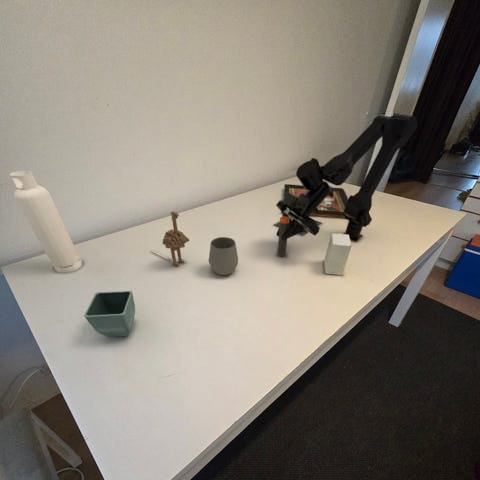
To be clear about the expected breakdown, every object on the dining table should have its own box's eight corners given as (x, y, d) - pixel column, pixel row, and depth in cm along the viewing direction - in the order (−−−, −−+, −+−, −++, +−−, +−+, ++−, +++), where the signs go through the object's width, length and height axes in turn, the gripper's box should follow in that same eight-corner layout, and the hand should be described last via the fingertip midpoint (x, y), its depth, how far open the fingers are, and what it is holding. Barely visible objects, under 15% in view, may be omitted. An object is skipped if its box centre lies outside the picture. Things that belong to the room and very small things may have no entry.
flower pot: (107, 318, 70) (95, 291, 63) (141, 316, 70) (132, 290, 64) (98, 343, 63) (82, 316, 57) (135, 341, 64) (124, 314, 58)
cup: (216, 281, 82) (214, 253, 75) (205, 267, 88) (202, 239, 81) (243, 274, 85) (243, 246, 78) (230, 260, 91) (230, 233, 84)
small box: (341, 275, 85) (352, 246, 78) (324, 273, 86) (332, 244, 79) (340, 262, 91) (349, 234, 84) (323, 260, 92) (331, 232, 84)
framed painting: (362, 219, 117) (365, 212, 115) (284, 217, 116) (285, 210, 114) (340, 190, 144) (341, 184, 142) (276, 189, 144) (277, 183, 142)
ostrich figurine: (193, 263, 89) (186, 210, 77) (178, 272, 85) (169, 217, 73) (159, 248, 96) (148, 197, 84) (145, 255, 92) (130, 203, 80)
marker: (280, 250, 95) (283, 215, 86) (287, 253, 94) (291, 218, 85) (275, 254, 94) (278, 218, 85) (282, 257, 92) (286, 221, 83)
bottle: (87, 262, 89) (45, 170, 69) (69, 274, 83) (18, 179, 64) (68, 257, 91) (22, 167, 71) (49, 270, 85) (-6, 175, 66)
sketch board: (294, 214, 120) (294, 213, 120) (321, 223, 113) (321, 222, 113) (273, 225, 111) (273, 224, 111) (302, 235, 105) (302, 234, 104)
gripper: (284, 173, 85) (252, 213, 89) (320, 192, 73) (282, 237, 77) (300, 195, 93) (270, 231, 97) (335, 215, 81) (299, 255, 85)
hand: (279, 237), depth 89 cm, fingers closed on marker, 3 cm apart
